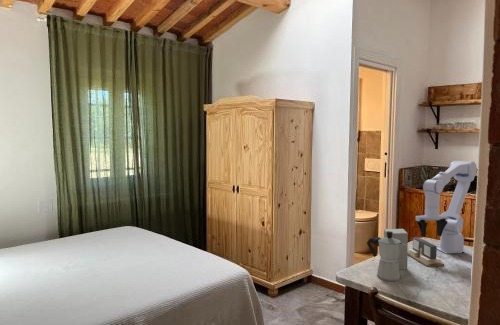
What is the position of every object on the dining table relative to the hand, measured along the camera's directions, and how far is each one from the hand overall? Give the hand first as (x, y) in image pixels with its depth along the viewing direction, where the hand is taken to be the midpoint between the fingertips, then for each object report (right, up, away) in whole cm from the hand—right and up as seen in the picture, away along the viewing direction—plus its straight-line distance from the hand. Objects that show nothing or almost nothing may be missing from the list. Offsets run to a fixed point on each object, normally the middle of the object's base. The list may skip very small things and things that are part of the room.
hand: (431, 236), depth 169 cm
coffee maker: (-29, -12, -23) cm, 38 cm away
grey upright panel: (-5, -7, -4) cm, 9 cm away
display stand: (-5, -10, -3) cm, 11 cm away
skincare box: (-22, -11, -13) cm, 27 cm away
